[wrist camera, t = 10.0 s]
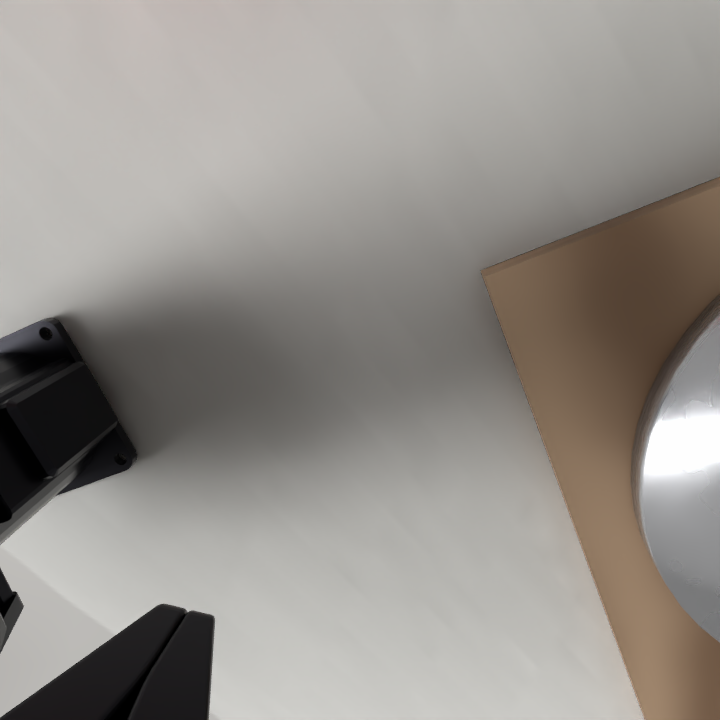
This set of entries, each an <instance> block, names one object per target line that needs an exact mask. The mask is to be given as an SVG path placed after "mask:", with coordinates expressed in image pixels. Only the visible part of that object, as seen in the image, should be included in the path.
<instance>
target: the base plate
mask: <svg viewBox="0 0 720 720" xmlns="http://www.w3.org/2000/svg"><path fill="white" fill-rule="evenodd" d="M481 274H482V277H483V279H484V282H485V285H486V287H487V290H488V293H489V296H490V298H491V301H492V304H493V307H494V309H495V312H496V315H497V317H498V320H499V323H500V326H501V328H502V331H503V334H504V337H505V339H506V342H507V345H508V347H509V350H510V353H511V356H512V358H513V361H514V364H515V367H516V369H517V372H518V375H519V377H520V380H521V383H522V386H523V388H524V391H525V394H526V397H527V399H528V402H529V405H530V407H531V410H532V413H533V416H534V418H535V421H536V424H537V427H538V429H539V432H540V435H541V437H542V440H543V443H544V446H545V448H546V451H547V454H548V457H549V459H550V462H551V465H552V468H553V470H554V473H555V476H556V478H557V481H558V484H559V487H560V489H561V492H562V495H563V498H564V500H565V503H566V506H567V508H568V511H569V514H570V517H571V519H572V522H573V525H574V528H575V530H576V533H577V536H578V538H579V541H580V544H581V547H582V549H583V552H584V555H585V558H586V560H587V563H588V566H589V568H590V571H591V574H592V577H593V579H594V582H595V585H596V588H597V590H598V593H599V596H600V598H601V601H602V604H603V607H604V609H605V612H606V615H607V618H608V620H609V623H610V626H611V629H612V631H613V634H614V637H615V639H616V642H617V645H618V648H619V650H620V653H621V656H622V659H623V661H624V664H625V667H626V669H627V672H628V675H629V678H630V680H631V683H632V686H633V689H634V691H635V694H636V697H637V699H638V702H639V705H640V708H641V710H642V713H643V716H644V719H645V720H720V642H718V641H717V640H716V639H715V638H713V637H712V636H711V635H710V634H708V633H707V632H706V631H705V630H703V629H702V628H701V627H700V626H699V625H698V624H697V623H696V622H695V621H694V620H693V619H692V618H691V617H690V615H689V614H688V613H687V612H686V611H685V610H684V609H683V608H682V607H681V606H680V604H679V603H678V601H677V600H676V598H675V597H674V595H673V594H672V592H671V591H670V589H669V588H668V587H667V585H666V584H665V582H664V580H663V578H662V577H661V575H660V573H659V571H658V570H657V568H656V566H655V565H654V563H653V561H652V559H651V557H650V555H649V553H648V551H647V548H646V546H645V544H644V542H643V540H642V538H641V535H640V532H639V528H638V525H637V521H636V518H635V514H634V511H633V502H632V493H631V485H630V478H631V454H632V449H633V444H634V439H635V433H636V428H637V424H638V421H639V418H640V415H641V412H642V409H643V406H644V404H645V401H646V398H647V395H648V393H649V391H650V389H651V387H652V385H653V383H654V381H655V379H656V377H657V375H658V373H659V371H660V369H661V367H662V365H663V363H664V361H665V360H666V359H667V357H668V356H669V354H670V353H671V351H672V350H673V348H674V347H675V345H676V344H677V342H678V341H679V339H680V338H681V336H682V335H683V333H684V332H685V331H686V330H687V329H688V327H689V326H690V325H691V324H692V323H693V322H694V321H695V319H696V318H697V317H698V316H699V315H700V314H701V312H702V311H703V310H704V309H705V308H706V307H707V306H708V304H709V303H710V302H711V301H712V300H714V299H715V298H716V297H717V296H718V295H719V294H720V177H718V178H716V179H713V180H711V181H708V182H705V183H703V184H700V185H698V186H695V187H693V188H690V189H688V190H685V191H682V192H680V193H677V194H675V195H672V196H670V197H667V198H665V199H662V200H660V201H657V202H654V203H652V204H649V205H647V206H644V207H642V208H639V209H637V210H634V211H631V212H629V213H626V214H624V215H621V216H619V217H616V218H614V219H611V220H608V221H606V222H603V223H601V224H598V225H596V226H593V227H591V228H588V229H586V230H583V231H580V232H578V233H575V234H573V235H570V236H568V237H565V238H563V239H560V240H557V241H555V242H552V243H550V244H547V245H545V246H542V247H540V248H537V249H534V250H532V251H529V252H527V253H524V254H522V255H519V256H517V257H514V258H512V259H509V260H506V261H504V262H501V263H499V264H496V265H494V266H491V267H489V268H486V269H483V270H481Z"/></svg>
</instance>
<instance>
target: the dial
mask: <svg viewBox="0 0 720 720" xmlns="http://www.w3.org/2000/svg"><path fill="white" fill-rule="evenodd" d="M630 485H631V493H632V502H633V511H634V514H635V518H636V521H637V525H638V528H639V532H640V535H641V538H642V540H643V542H644V544H645V546H646V548H647V551H648V553H649V555H650V557H651V559H652V561H653V563H654V565H655V566H656V568H657V570H658V571H659V573H660V575H661V577H662V578H663V580H664V582H665V584H666V585H667V587H668V588H669V589H670V591H671V592H672V594H673V595H674V597H675V598H676V600H677V601H678V603H679V604H680V606H681V607H682V608H683V609H684V610H685V611H686V612H687V613H688V614H689V615H690V617H691V618H692V619H693V620H694V621H695V622H696V623H697V624H698V625H699V626H700V627H701V628H702V629H703V630H705V631H706V632H707V633H708V634H710V635H711V636H712V637H713V638H715V639H716V640H717V641H718V642H720V294H719V295H718V296H717V297H716V298H715V299H714V300H712V301H711V302H710V303H709V304H708V306H707V307H706V308H705V309H704V310H703V311H702V312H701V314H700V315H699V316H698V317H697V318H696V319H695V321H694V322H693V323H692V324H691V325H690V326H689V327H688V329H687V330H686V331H685V332H684V333H683V335H682V336H681V338H680V339H679V341H678V342H677V344H676V345H675V347H674V348H673V350H672V351H671V353H670V354H669V356H668V357H667V359H666V360H665V361H664V363H663V365H662V367H661V369H660V371H659V373H658V375H657V377H656V379H655V381H654V383H653V385H652V387H651V389H650V391H649V393H648V395H647V398H646V401H645V404H644V406H643V409H642V412H641V415H640V418H639V421H638V424H637V428H636V433H635V439H634V444H633V449H632V454H631V478H630Z"/></svg>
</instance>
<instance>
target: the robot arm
mask: <svg viewBox="0 0 720 720" xmlns="http://www.w3.org/2000/svg"><path fill="white" fill-rule="evenodd" d="M46 328H49V329H50V330H51V332H52V337H51V336H49V335H48V334H47V332H46ZM119 454H122V455H124V456H125V457H126V460H124V459H122V458H121V457H120V455H119ZM136 460H137V453H136V450H135V449H134V447H133V445H132V443H131V442H130V440H129V438H128V437H127V435H126V433H125V431H124V430H123V428H122V426H121V425H120V423H119V421H118V419H117V417H116V415H115V413H114V411H113V410H112V408H111V406H110V405H109V403H108V401H107V399H106V398H105V396H104V394H103V393H102V391H101V389H100V387H99V386H98V384H97V382H96V381H95V379H94V377H93V375H92V374H91V372H90V370H89V369H88V367H87V365H85V363H84V361H83V359H82V358H81V356H80V354H79V353H78V351H77V349H76V347H75V346H74V344H73V342H72V341H71V339H70V337H69V335H68V334H67V332H66V330H65V329H64V327H63V325H62V324H61V323H60V322H59V321H57V320H56V319H53V318H47V319H44V320H41V321H39V322H36V323H34V324H32V325H30V326H28V327H25V328H23V329H21V330H19V331H16V332H14V333H12V334H10V335H8V336H5V337H3V338H1V339H0V545H1V544H2V543H3V542H4V541H5V540H6V539H7V538H9V537H10V536H11V535H12V534H13V533H14V532H15V531H16V530H18V529H19V528H20V527H21V526H22V525H23V524H24V523H25V522H26V521H28V520H29V519H30V518H31V517H32V516H33V515H34V514H35V513H37V512H38V511H39V510H40V509H41V508H42V507H43V506H44V505H46V504H47V503H48V502H49V501H50V500H51V499H52V498H53V497H55V496H57V495H59V494H62V493H65V492H68V491H70V490H73V489H76V488H79V487H81V486H84V485H87V484H90V483H92V482H95V481H98V480H101V479H103V478H106V477H109V476H112V475H114V474H117V473H120V472H123V471H125V470H127V469H129V468H130V467H131V466H132V465H133V464H134V463H135V462H136ZM23 607H24V606H23V603H22V601H21V600H20V597H19V596H18V594H17V592H12V590H11V588H10V586H9V584H8V582H7V580H6V578H5V576H4V574H3V572H2V570H1V568H0V653H1V651H2V649H3V647H4V645H5V643H6V641H7V639H8V637H9V635H10V633H11V631H12V629H13V627H14V625H15V623H16V621H17V619H18V617H19V615H20V613H21V611H22V609H23ZM214 629H215V618H214V616H213V615H210V614H205V613H201V612H197V611H189V612H188V613H187V611H186V609H184V608H180V607H176V606H172V605H168V604H160V605H158V606H156V607H155V608H153V609H152V610H151V611H149V612H148V613H146V614H145V615H144V616H142V617H141V618H139V619H138V620H137V621H135V622H134V623H132V624H131V625H130V626H128V627H127V628H125V629H124V630H123V631H121V632H120V633H118V634H117V635H116V636H114V637H113V638H111V639H110V640H109V641H107V642H106V643H104V644H103V645H102V646H100V647H99V648H97V649H96V650H94V651H93V652H92V653H90V654H89V655H88V656H86V657H85V658H83V659H82V660H80V661H79V662H78V663H76V664H75V665H73V666H72V667H71V668H69V669H68V670H66V671H65V672H64V673H62V674H61V675H60V676H58V677H57V678H55V679H54V680H52V681H51V682H50V683H48V684H47V685H45V686H44V687H43V688H41V689H40V690H39V691H37V692H36V693H34V694H33V695H31V696H30V697H29V698H27V699H26V700H24V701H23V702H22V703H20V704H19V705H17V706H16V707H15V708H13V709H12V710H11V711H9V712H8V713H6V714H5V715H3V716H2V717H1V718H0V720H209V706H210V691H211V675H212V660H213V644H214Z"/></svg>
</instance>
